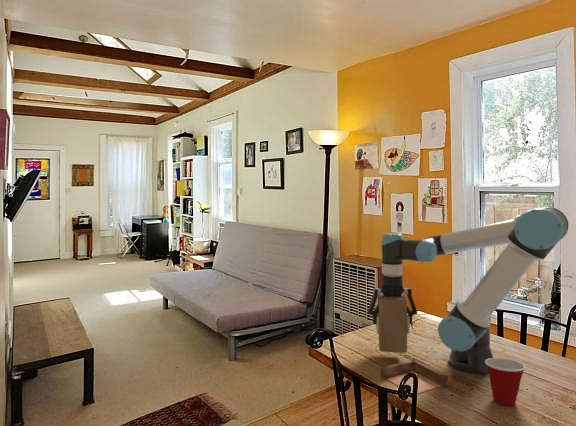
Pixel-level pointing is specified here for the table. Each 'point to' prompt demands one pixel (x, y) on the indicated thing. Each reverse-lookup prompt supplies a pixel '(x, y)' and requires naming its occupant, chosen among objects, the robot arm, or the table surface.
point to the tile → (423, 382)
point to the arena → (416, 367)
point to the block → (392, 324)
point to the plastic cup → (505, 379)
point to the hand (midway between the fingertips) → (392, 332)
